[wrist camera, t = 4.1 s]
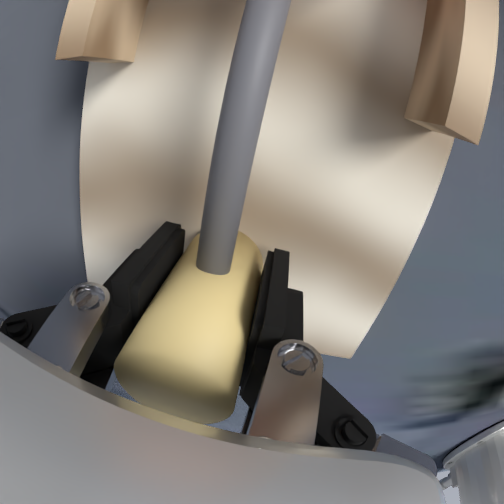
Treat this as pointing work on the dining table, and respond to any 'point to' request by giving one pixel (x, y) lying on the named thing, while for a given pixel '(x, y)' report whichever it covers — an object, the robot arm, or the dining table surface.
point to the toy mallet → (212, 256)
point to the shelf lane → (282, 134)
